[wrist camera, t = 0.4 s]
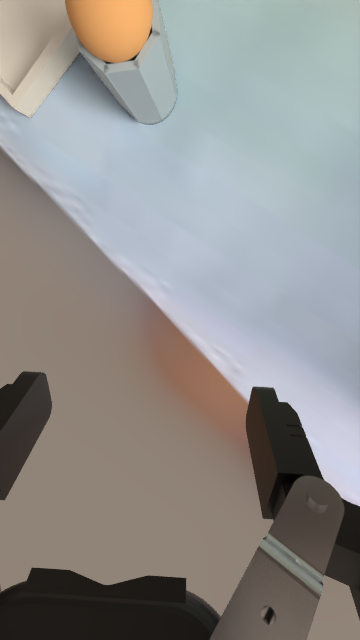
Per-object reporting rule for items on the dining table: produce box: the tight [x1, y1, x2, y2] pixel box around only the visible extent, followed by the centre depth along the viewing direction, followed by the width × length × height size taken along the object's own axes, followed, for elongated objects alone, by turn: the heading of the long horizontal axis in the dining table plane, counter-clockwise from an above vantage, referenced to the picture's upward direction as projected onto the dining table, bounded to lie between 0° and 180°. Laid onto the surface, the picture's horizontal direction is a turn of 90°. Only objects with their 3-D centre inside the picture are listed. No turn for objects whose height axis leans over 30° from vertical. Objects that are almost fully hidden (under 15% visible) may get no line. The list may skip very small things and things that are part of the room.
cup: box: [76, 0, 177, 125], centre depth 25 cm, size 6×6×12 cm
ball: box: [65, 0, 153, 63], centre depth 19 cm, size 5×5×5 cm
